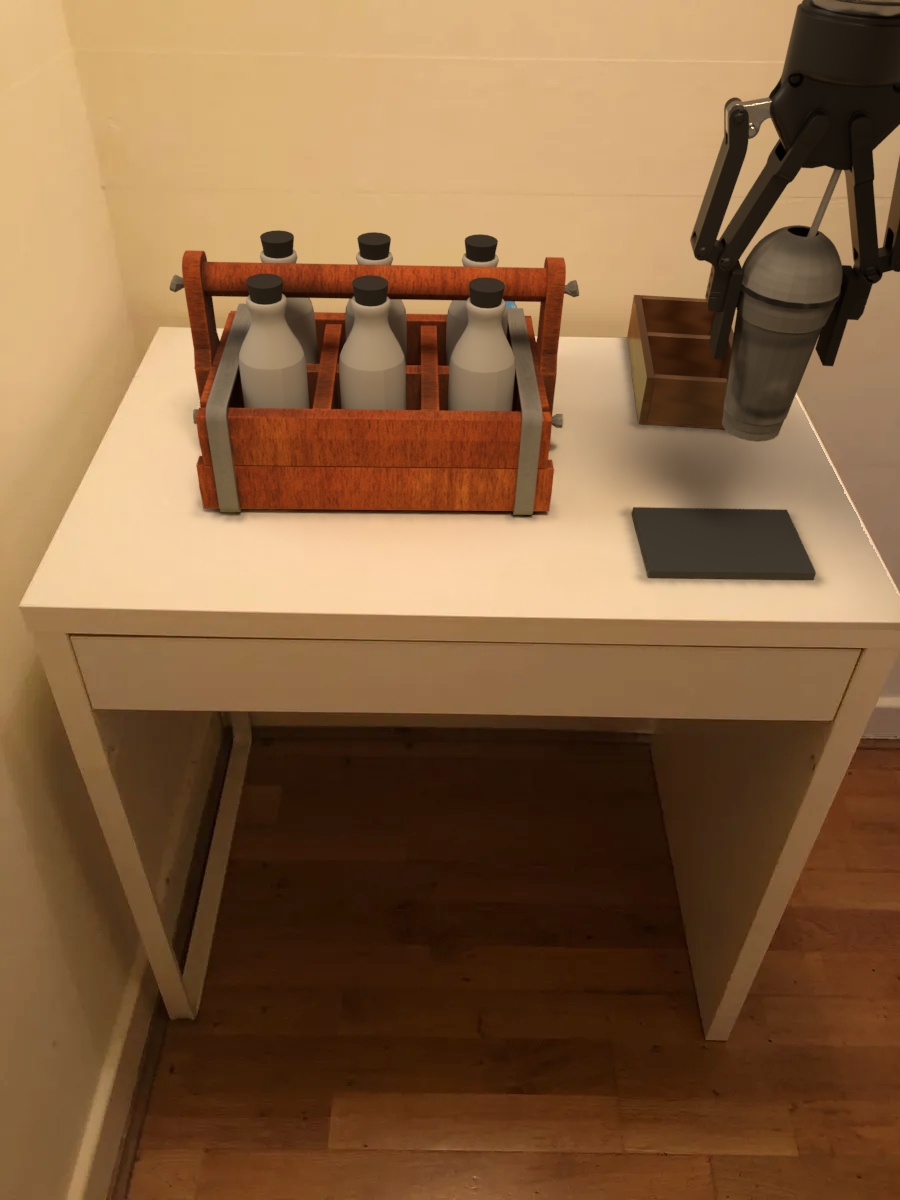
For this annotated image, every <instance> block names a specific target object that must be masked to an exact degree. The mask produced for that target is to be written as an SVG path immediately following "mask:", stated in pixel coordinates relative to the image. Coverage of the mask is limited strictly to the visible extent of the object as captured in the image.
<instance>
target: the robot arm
mask: <svg viewBox="0 0 900 1200" xmlns="http://www.w3.org/2000/svg"><path fill="white" fill-rule="evenodd" d="M768 119H770V120H771V122H772V125H773V126H774V129H775V132H776V133H777V137H778V138H779V139H778V140H777V142H776V143H775V145H774V147H773V148H772V149H771V151H770V153H769V154H768V157H767V160H766V163H765V165H764V166H763V168H762V170H761V172H760V173H759V175H758V176H757V178H756V180H755V181H754V183H753V185H752V186H751V188H750V189H749V191H748V192H747V194H746V196H745V197H744V199H743V201H742V203H741V204H740V205H739V206H738V209H737V210H736V212H735V213H734V215H733V216H732V218H731V220H730V222H729V223H728V224H727V226H726V228H725V229H724V231H723V233H722V234H721V236H720V237H719V239H718V236H719V233H720V230H721V228H722V224H723V222H724V219H725V216H726V214H727V210H728V207H729V204H730V202H731V199H732V196H733V193H734V190H735V187H736V184H737V181H738V179H739V176H740V173H741V171H742V170H741V169H742V167H743V164H744V161H745V159H746V155H747V151H748V146H749V140H751V139H754V138H755V137H757V136H758V134H759V132H760V129H761V126H762V124H763V122H765V121H766V120H768ZM723 125H724V126H723V134H724V135H723V138H722V141H721V145H720V147H719V150H718V154H717V156H716V159H715V163H714V165H713V168H712V172H711V175H710V178H709V181H708V184H707V186H706V189H705V192H704V196H703V198H702V202H701V204H700V208H699V211H698V214H697V217H696V220H695V223H694V226H693V228H692V232H691V234H690V239H689V242H690V246H691V249H692V252H693V256H694V258H695V259H696V260H697V261H700V262H703V261H705V262H706V263H709V264H711V268H710V272H709V277H708V280H707V281H708V282H707V286H706V291H705V294H704V299H706V302H707V306H708V310H709V311H710V312H716V314H715V318H714V323H713V327H712V332H711V336H710V341H709V343H710V347H711V351H712V354H713V358H714V359H722V360H724V357H725V353H726V349H727V344H728V340H729V336H730V332H731V327H732V328H733V323H734V319H735V316H736V315H735V314H736V311H737V308H736V306H737V302H738V298H739V294H740V289H741V285H742V281H743V277H744V273H743V270H742V265H741V262H740V259H741V257H742V256H743V254H744V253H745V251H746V249H747V248H748V247H749V245H750V243H751V242H752V240H753V238H754V237H755V235H756V234H757V232H758V231H759V229H760V228H761V226H762V225H763V223H764V222H765V220H766V219H767V217H768V216H769V214H770V212H771V211H772V209H773V208H774V206H775V205H776V203H777V201H778V200H779V198H780V197H781V195H782V194H783V192H784V191H785V190H786V187H787V186H788V185H789V184H790V183H792V182H793V181H794V180H795V178H796V177H797V176H798V174H799V173H800V171H801V169H816V168H822V167H827V168H831V169H833V170H834V169H836V170H842V171H843V172H844V176H845V185H846V196H847V197H846V198H847V206H848V207H847V209H848V217H849V226H850V227H849V228H850V239H851V249H852V259H853V260H852V261H853V266H852V265H850V264H849V265H846V264H842V271H843V275H842V284H841V296H840V298H839V300H838V301H837V302H836V303H835V306H834V308H833V310H832V312H831V314H830V316H829V318H828V320H827V322H826V324H825V325H824V326H823V327H822V330H821V332H820V335H819V337H818V340H817V342H816V345H815V347H814V350H815V351H816V354H817V356H818V358H819V360H820V363H821V365H822V367H834V364H835V362H836V359H837V355H838V352H839V349H840V346H841V343H842V340H843V336H844V333H845V330H846V327H847V325H848V321H850V320H851V321H859V320H860V319H861V317H862V316H863V315H864V313H865V309H866V305H867V302H868V300H869V297H870V294H871V290H872V288H873V285H875V284H877V283H879V282H880V281H881V280H882V278H883V276H884V275H883V274H885V273H889V272H895V273H900V155H899V157H898V161H897V167H896V173H895V178H894V184H893V189H892V194H891V200H890V204H889V210H888V214H887V215H888V216H887V221H886V226H885V231H884V237H883V243H882V247H879V238H878V227H877V224H878V223H877V214H876V201H875V200H876V199H875V187H874V180H875V165H874V150H875V149H876V148H877V147H879V146H880V144H881V143H882V142H883V141H885V140H886V138H887V137H889V136H890V135H891V134H892V133H893V132H894V131H895V130H896V129H897V128H898V127H899V126H900V0H802V1H801V3H799V4H798V5H797V6H796V11H795V16H794V19H793V24H792V28H791V33H790V37H789V41H788V45H787V50H786V55H785V58H784V64H783V67H782V72H781V76H780V78H779V80H778V81H777V83H776V85H775V87H774V88H773V89H772V90H771V92H770V93H769V95H768V97H761V98H758V99H751V100H745V101H742V100H741V98H739V97H731V98H729V99H728V100H727V101H726V102H725V104H724V108H723Z"/></svg>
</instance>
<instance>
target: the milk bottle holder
mask: <svg viewBox="0 0 900 1200" xmlns="http://www.w3.org/2000/svg"><path fill="white" fill-rule="evenodd" d="M259 239H260V243H261V246H262V250H261V251H260V253H259V259H260V262H247V261H246V262H244V261H243V262H241V261H208V259H207V258H208V257H207V253H206V252H205V251H204V250H192V249H191V250H185V251H184V252H183V255H182V258H181V274H182V276H180V275H178V274H174V275H173V276H172V279H171V280H170V284H169V291H171V292H174V293H177V292H179V291H181V290H182V289H184V294H185V300H186V307H187V313H188V319H189V326H190V333H191V340H192V347H193V361H194V373H195V379H196V385H197V391H198V398H199V406H200V407H198V408H195V409H193V413H192V418H193V419H192V420H193V424H194V425H195V424H196V429H197V437H198V442H199V447H200V452H201V455H199V456H198V459H197V461H196V473H197V479H198V480H197V481H198V488H199V493H200V498H201V503H202V508H203V509H219V512H220V513H241V512H242V509H245V510H246V509H248V510H249V509H251V510H252V509H253V510H255V509H256V510H257V509H258V510H260V509H261V510H349V511H350V510H353V511H354V510H360V511H361V510H362V511H363V510H366V511H367V510H369V511H461V512H463V511H465V512H466V511H467V512H470V511H473V512H474V511H475V512H477V511H478V512H483V511H484V512H496V511H497V512H512V515H514V516H515V515H516V516H517V515H518V516H521V515H522V516H523V515H524V516H525V515H526V516H527V515H528V516H532V515H533V514H534V512H550V507H551V501H552V500H551V499H552V493H553V483H554V474H555V473H554V472H555V467H554V461H553V459H549V454H550V448H551V439H552V438H551V437H552V427H555V428H556V429H563V426H564V415H563V413H556V414H554V415H553V411H554V410H553V409H554V401H555V393H556V382H557V376H558V375H557V373H558V372H557V371H558V351H559V343H560V336H561V335H560V333H561V325H562V316H563V307H564V299H565V295H568V296H570V297H572V298H577V297H579V296H580V290H579V285H578V281H577V280H576V279H573V280H571V281H569V282H568V283H567V284H566V279H567V278H566V277H567V276H566V275H567V269H566V267H567V265H566V260H565V257H560V256H559V257H557V256H556V257H554V256H547V257H546V256H545V259H544V264H543V267H519V266H518V267H517V266H516V267H514V266H513V267H512V266H509V267H508V266H498V265H499V262H500V261H499V260H500V259H499V257H498V255H497V254H496V252H497V248H498V243H499V240H498V239H497V237H494V236H491V235H489V234H482V233H481V234H480V233H479V234H470V235H468V236H466V237H465V238H464V248H465V253H463V256H462V258H461V262H462V266H456V265H411V264H409V265H408V264H393V261H394V255H393V253H392V252H391V249H390V248H391V242H392V237H391V236H390V235H388V234H386V233H383V232H375V231H374V232H373V231H371V232H366V233H362V234H360V235H358V236H357V238H356V239H357V245H358V250H359V251H358V252H357V253H356V256H355V260H356V264H354V263H353V264H351V263H349V264H347V263H301V262H299V263H298V262H297V261H298V254H297V251H296V250H295V249H294V242H295V236H294V234H293V233H292V232H291V231H287V230H280V229H279V230H277V229H276V230H269V231H265V232H263V233H261V235H260V236H259ZM213 297H226V298H227V297H230V298H231V297H234V298H235V297H236V298H246V299H245V303H238V304H237V307H236V310H230V312H228V315H227V318H226V321H225V324H224V327H223V330H222V334H221V336H220V337H219V334H218V329H217V323H216V322H217V321H216V315H215V308H214V300H213ZM311 299H341V300H342V299H343V300H344V299H347V300H348V301H347V303H346V306H345V312H331V311H330V312H328V311H325V312H323V311H315V309H314V305H313V302H312V300H311ZM403 300H405V301H407V300H408V301H451V302H450V304H449V306H448V308H447V314H446V313H445V314H443V313H407V310H406V306H405V303H404V302H403ZM504 301H515V302H519V303H520V302H522V303H523V302H525V303H527V302H528V303H540V305H539V316H538V325H537V336H536V335H535V330H534V325H533V319H532V315H525V311H524V308H523V307H521V308H520V307H519V308H518V307H517V308H506V303H505V302H504Z"/></svg>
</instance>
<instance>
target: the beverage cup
mask: <svg viewBox="0 0 900 1200" xmlns="http://www.w3.org/2000/svg"><path fill="white" fill-rule="evenodd" d="M842 173H843V170H836V169H833V170H832V174H831V176H830V179H829V181H828V184H827V186H826V189H825V191H824V193H823V195H822V198H821V201H820V203H819V206H818V208H817V211H816V213H815V215H814V218H813V220H812V223H811V225H810V226H808V225H801V224H797V225H796V224H795V225H788V226H783V227H779V228H778V229H775V230H773V231H771V232H770V233H768V234H766V235H765V236H764V237H762V238H761V239H760V240H758V242H757V243H756V244H755V246H753V248H751V251H750V252H749V254H748V255H747V257H746V258H745V260H744V262H743V264H742V265H741V268H742V270H743V273H744V277H743V281H742V285H741V289H740V294H739V298H738V302H737V306H736V315H735V322H734V328H733V333H734V335H733V342H732V349H731V356H730V363H729V370H728V377H727V383H726V390H725V397H724V411H723V419H722V425H723V427H724V428H725V429H724V430H725V431H726V432H727V433H729V434H730V435H731V436H734V437H736V438H738V439H741V440H745V441H750V442H768V441H771V440H774V439H775V438H777V437H778V436H779V435H780V432H781V430H782V426H783V424H784V422H785V420H786V419H787V417H788V415H789V412H790V409H791V407H792V405H793V402H794V400H795V397H796V394H797V393H798V390H799V387H800V385H801V382H802V379H803V378H804V375H805V373H806V369H807V367H808V364H809V363H810V359H811V357H812V355H813V352H814V350H815V348H816V345H817V341H818V338H819V335H820V332H821V330H822V327H823V326H824V325H825V324H826V322H827V320H828V318H829V316H830V314H831V312H832V310H833V308H834V306H835V303H836V302H837V301H838V300H839V298H840V296H841V284H842V275H843V271H842V265H843V263H842V259H841V256H840V253H839V252H838V249H837V247H836V245H835V244H834V242H833V241H832V239H830V238H829V237H828V236H827V235H826V234H825V233H823V232H822V231H821V230H819V228H820V226H821V224H822V221H823V219H824V216H825V213H826V211H827V209H828V206H829V203H830V201H831V199H832V196H833V194H834V191H835V189H836V186H837V184H838V182H839V179H840V177H841V175H842Z"/></svg>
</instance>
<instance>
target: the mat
mask: <svg viewBox="0 0 900 1200" xmlns="http://www.w3.org/2000/svg"><path fill="white" fill-rule="evenodd" d="M631 516H632V520H633V523H634V528H635V531H636V535H637V539H638V543H639V547H640V550H641V554H642V559H643V562H644V566H645V570H646V574H647V578H649V579H651V578H653V579H655V578H656V579H722V580H723V579H724V580H725V579H727V580H728V579H730V580H731V579H732V580H735V579H736V580H794V581H795V580H801V581H802V580H804V581H805V580H806V581H807V580H809V581H811V580H812V581H813V580H815V577H816V574H817V572H816V570H815V567H814V565H813V562H812V561H811V558H810V557H809V554H808V552H807V550H806V548H805V546H804V544H803V541H802V539H801V537H800V535H799V532H798V531H797V528H796V526H795V524H794V523H793V520H792V518H791V515H790V514H789V511H788V510H787V509H780V508H779V509H778V508H777V509H773V508H772V509H771V508H770V509H769V508H766V509H765V508H718V507H717V508H715V507H714V508H713V507H712V508H709V507H708V508H707V507H706V508H705V507H652V506H651V507H643V506H638V507H637V506H634V507H632V511H631Z"/></svg>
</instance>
